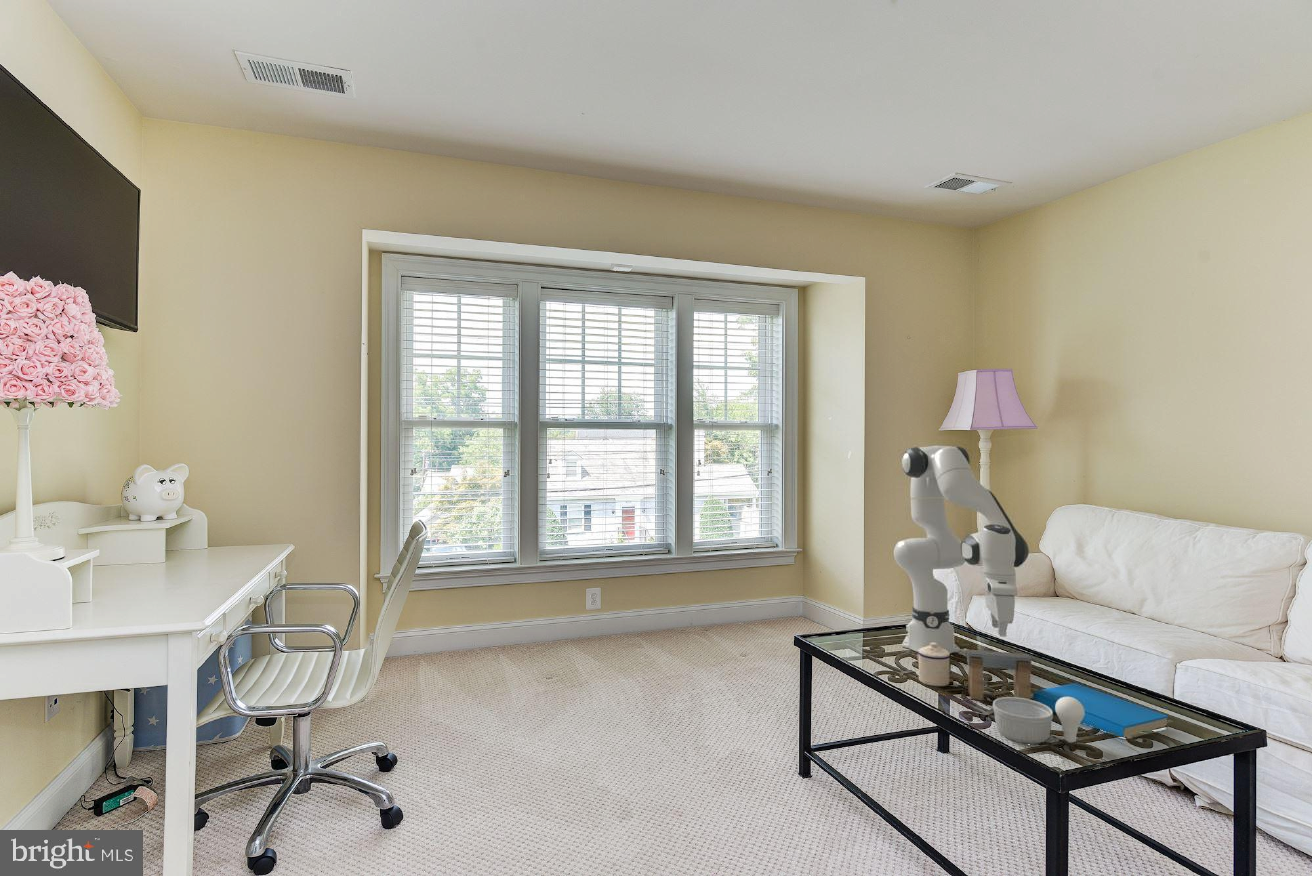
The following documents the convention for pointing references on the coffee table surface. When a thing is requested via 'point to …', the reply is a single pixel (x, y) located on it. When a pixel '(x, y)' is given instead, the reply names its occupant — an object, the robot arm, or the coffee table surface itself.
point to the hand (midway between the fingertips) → (998, 631)
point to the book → (1104, 710)
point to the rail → (998, 659)
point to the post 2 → (1022, 681)
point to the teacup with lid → (933, 665)
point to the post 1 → (975, 679)
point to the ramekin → (1022, 719)
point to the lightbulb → (1069, 716)
